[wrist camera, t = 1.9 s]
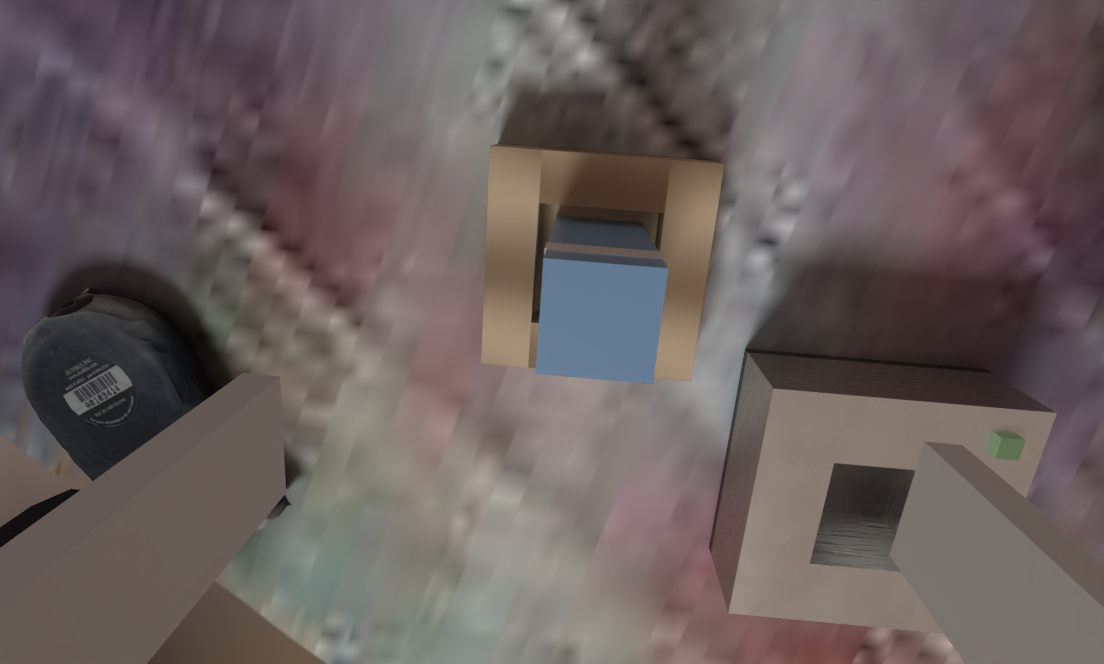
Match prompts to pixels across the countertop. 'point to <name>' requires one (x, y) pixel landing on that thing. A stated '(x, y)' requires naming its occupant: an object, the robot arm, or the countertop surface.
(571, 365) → the plug
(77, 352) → the electronic device
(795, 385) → the port block
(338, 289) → the countertop surface
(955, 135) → the countertop surface
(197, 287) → the countertop surface
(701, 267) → the tan flat square frame
